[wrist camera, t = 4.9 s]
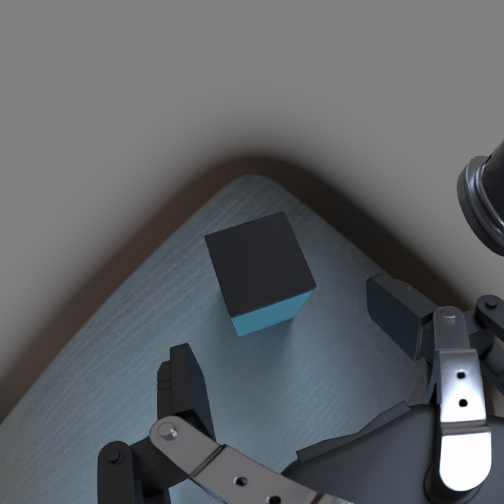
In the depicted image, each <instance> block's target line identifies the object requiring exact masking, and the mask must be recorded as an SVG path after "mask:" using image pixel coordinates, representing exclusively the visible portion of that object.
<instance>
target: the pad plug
mask: <svg viewBox="0 0 504 504" xmlns="http://www.w3.org/2000/svg"><path fill="white" fill-rule="evenodd" d="M205 240H206V244H207V247H208V250H209V253H210V257H211V260H212V263H213V266H214V269H215V272H216V275H217V279H218V282H219V285H220V288H221V291H222V294H223V297H224V300H225V303H226V306H227V309H228V312H229V315H230V317H231V320H232V322H233V325H234V327H235V329H236V332H237V334H238V336H239V337H240V336H243V335H246V334H249V333H252V332H255V331H258V330H261V329H264V328H267V327H270V326H272V325H275V324H278V323H281V322H284V321H286V320H289V319H292V318H294V316H295V315H296V314H297V312H298V311H299V310H300V308H301V307H302V305H303V304H304V303H305V301H306V300H307V298H308V297H309V296H310V294H311V293H312V291H313V290H314V289H315V287H316V284H315V281H314V279H313V277H312V274H311V272H310V270H309V267H308V265H307V263H306V260H305V258H304V256H303V253H302V251H301V249H300V246H299V244H298V242H297V240H296V237H295V235H294V233H293V230H292V228H291V226H290V224H289V221H288V219H287V217H286V215H285V213H284V211H283V212H279V213H276V214H273V215H269V216H266V217H263V218H260V219H256V220H253V221H250V222H246V223H243V224H240V225H237V226H234V227H230V228H227V229H224V230H221V231H218V232H214V233H211V234H208V235H205Z"/></svg>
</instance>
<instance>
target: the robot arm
mask: <svg viewBox="0 0 504 504" xmlns="http://www.w3.org/2000/svg"><path fill="white" fill-rule="evenodd" d="M476 186H477V190H478V193H479V196H480V198H481V201H482V203H483V205H484V207H485V209H486V210H487V212H488V214H489V215H490V216H491V218H492V219H493V220H494V222H495V223H496V224H497V225H498V226H499V227H500V228H501V229H502V230H503V231H504V139H503V141H502V142H501V143H500V145H499V146H498V147H497V148H496V149H495V151H494V152H493V153H492V154H491V155H490V157H489V158H488V159H487V160H485V161H484V162H483V163H482V165H481V166H480V167H479V168H478V170H477V173H476ZM366 288H367V309H368V312H369V315H370V317H371V318H372V320H373V321H374V322H375V323H376V324H377V325H378V326H379V327H380V328H381V329H382V330H383V331H384V332H385V333H386V334H387V335H388V336H389V337H390V338H391V339H392V340H393V341H394V342H395V343H396V344H397V345H398V346H399V347H400V348H401V349H402V350H403V351H404V352H405V353H406V354H407V355H408V356H409V357H410V358H411V359H412V360H413V361H414V362H415V361H417V360H418V359H420V358H422V357H424V358H425V359H426V360H425V387H424V403H423V404H418V405H413V406H408V405H407V404H406V402H405V401H402V402H400V403H399V404H397V405H395V406H393V407H392V408H390V409H388V410H386V411H384V412H383V413H381V414H379V415H378V416H377V417H376V418H375V419H374V420H372V421H371V422H370V423H369V424H368V425H366V426H365V427H364V428H363V429H361V430H360V431H359V432H357V433H355V434H351V435H347V436H342V437H338V438H333V439H328V440H324V441H322V442H319V443H317V444H314V445H312V446H309V447H307V448H304V449H301V450H299V451H296V453H297V456H298V459H297V460H295V461H294V462H292V463H291V464H290V465H289V466H287V467H286V468H285V469H284V470H283V471H282V472H281V474H279V473H277V472H275V471H273V470H271V469H269V468H267V467H265V466H264V465H262V464H260V463H258V462H256V461H255V460H253V459H251V458H249V457H248V456H246V455H244V454H242V453H241V452H239V451H237V450H236V449H234V448H232V447H231V446H229V445H226V444H223V445H220V444H218V443H217V442H216V437H215V432H214V427H213V422H212V417H211V412H210V407H209V401H208V396H207V390H206V384H205V379H204V376H203V373H202V370H201V368H200V366H199V364H198V362H197V360H196V358H195V356H194V354H193V352H192V350H191V348H190V346H189V344H188V343H184V344H181V345H177V346H174V347H170V360H169V361H166V362H162V364H161V366H160V368H159V370H158V372H157V382H158V384H157V390H158V391H157V415H158V420H157V421H156V422H155V423H154V424H153V426H152V427H151V429H150V433H149V436H148V437H146V438H145V439H143V440H141V441H139V442H137V443H134V444H132V445H130V446H128V445H127V444H126V443H124V442H122V441H113V442H110V443H108V444H106V445H105V446H104V447H103V448H102V449H101V451H100V452H99V455H98V471H97V495H98V504H171V500H170V495H169V489H168V488H170V487H172V486H174V485H176V484H178V483H180V482H182V481H184V480H186V479H188V478H189V479H190V480H191V481H192V482H194V483H195V484H196V485H197V486H199V487H200V488H201V489H203V490H204V491H205V492H207V493H208V494H209V495H211V496H212V497H213V498H215V499H216V500H218V501H219V502H220V503H222V504H504V417H498V416H492V415H486V414H485V402H484V393H483V385H482V377H481V372H482V373H483V374H484V375H485V376H486V377H487V378H488V379H489V381H490V382H491V383H492V384H493V385H494V386H495V387H496V388H497V389H498V390H499V391H500V392H501V393H502V394H503V395H504V350H503V349H501V348H500V347H499V346H498V345H497V344H496V343H495V340H496V337H498V338H499V339H501V340H502V341H503V342H504V301H503V300H502V299H500V298H498V297H497V296H494V295H484V296H482V297H480V298H479V299H478V300H477V304H476V308H475V309H471V310H468V311H464V312H462V311H461V310H459V309H457V308H455V307H451V306H444V307H441V308H440V307H439V306H437V305H436V304H435V303H433V302H432V301H431V300H429V299H428V298H427V297H425V296H424V295H423V294H421V293H419V292H418V291H417V290H415V289H413V287H411V286H410V285H409V284H407V283H406V282H403V281H400V280H397V279H394V280H392V279H391V278H390V277H388V276H387V275H386V274H384V273H380V274H378V275H376V276H373V277H371V278H368V279H367V281H366Z"/></svg>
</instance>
